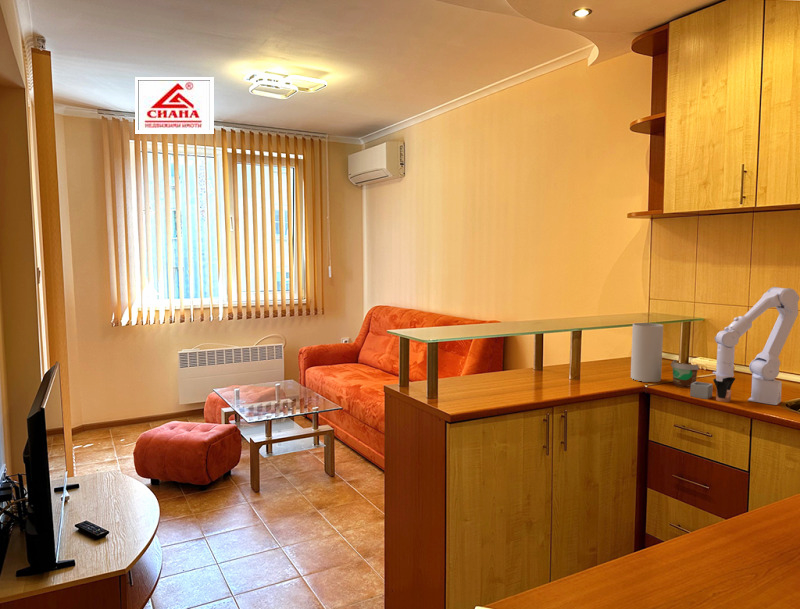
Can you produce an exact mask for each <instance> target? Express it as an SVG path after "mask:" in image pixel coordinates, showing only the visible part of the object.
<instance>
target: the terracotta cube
mask: <svg viewBox="0 0 800 609" xmlns="http://www.w3.org/2000/svg"><path fill="white" fill-rule="evenodd" d="M731 396H732V390H731V389H730V390H727V393H726V397H725V398H719V397H718V393H717V390H716V396H715V400H716V401H717V402H724V403H729V402H730V401H731V398H732V397H731Z"/></svg>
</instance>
